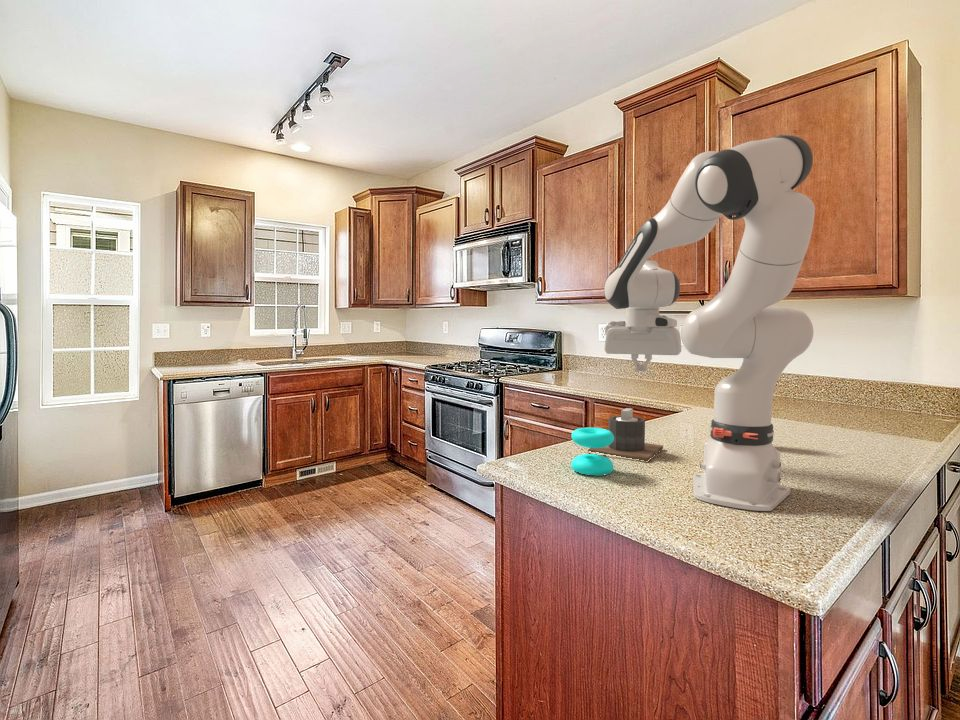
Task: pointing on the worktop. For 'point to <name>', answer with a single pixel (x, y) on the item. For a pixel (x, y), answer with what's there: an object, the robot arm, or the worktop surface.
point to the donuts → (592, 462)
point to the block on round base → (627, 415)
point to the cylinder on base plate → (629, 440)
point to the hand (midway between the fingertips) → (641, 371)
